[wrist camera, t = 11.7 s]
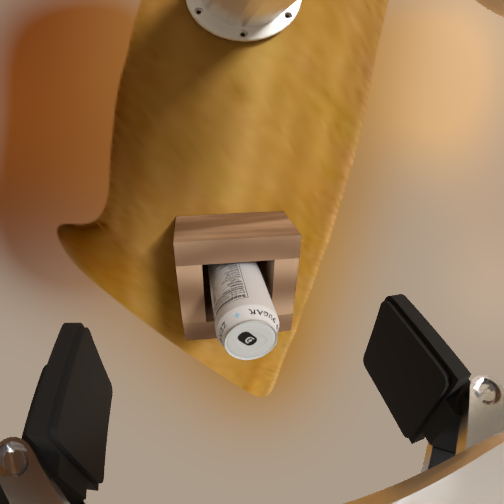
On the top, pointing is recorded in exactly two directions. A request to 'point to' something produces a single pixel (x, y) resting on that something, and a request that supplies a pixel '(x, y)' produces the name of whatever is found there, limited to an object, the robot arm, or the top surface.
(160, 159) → the top surface
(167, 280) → the top surface
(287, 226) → the well
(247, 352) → the energy drink can
